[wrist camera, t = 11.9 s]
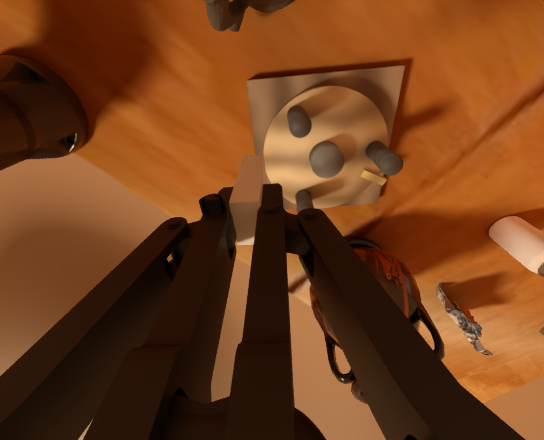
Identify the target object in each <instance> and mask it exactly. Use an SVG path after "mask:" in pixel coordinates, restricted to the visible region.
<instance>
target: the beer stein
mask: <svg viewBox="0 0 544 440" xmlns="http://www.w3.org/2000/svg"><path fill="white" fill-rule="evenodd" d="M204 1H205V2H206V5H207V12H208V17H209V21H210V23H211V25H212V26H213V28H214V29H216V30H218V31H225V30H226V29H228V28H229V29H230V30H231V31H234V32H237V31H239V29H240V26H241V23H242V20H243V16H244V12H245V10H246V8H247V7H248V6H250V7H252V8H254V9H256V10H259V11H263V12H264V11H276V10H278V9H281V8H283V7H285V6H286V5H288V4H289V3H290V2H291V1H292V0H233V1H232V2H229V0H204Z"/></svg>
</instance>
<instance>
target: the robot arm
mask: <svg viewBox="0 0 544 440" xmlns="http://www.w3.org/2000/svg"><path fill="white" fill-rule="evenodd" d="M87 134H88V125H87V119H86V116H85V113H84V110H83V108H82V106H81V104H80V102H79V100H78V99H77V97H76V96H75V94H74V93H73V91H72V90H71V89H70V88H69V87H68V86H67V84H66V83H65V82H64V81H63V80H62V79H61V78H60V77H58V76H57V75H56V74H55V73H54V72H52V71H51V70H49V69H48V68H46V67H45V66H43V65H41V64H40V63H38V62H36V61H33V60H31V59H28V58H25V57H21V56H15V55H0V170H3V169H5V168H7V167H9V166H12V165H14V164H17V163H19V162H21V161H24V160H26V159H47V158H59V157H64V156H67V155H69V154H71V153H73V152H75V151H77V150H79V149H80V148H81V147H82V146H83V144H84V143H85V141H86V138H87ZM199 204H200V207H201V210H202V214H203V215H202V218H201V220H199V221H196V222H192V223H187V220H186V219H185V218H182V217H175V218H171V219H169V220H167V221H165V222H163V223H162V224H161V225H160V226H159V227H158V228H157V229H156V230H155V231H154V232H153V233H152V234H150V235H149V236H148V237H147V238H146V239H145V240H144V241H143V242H142V243H141V244H140V245H139V246H138V247H137V248H136V249H135V250H134V251H132V252H131V254H129V255H128V256H127V257H126V258H125V259H124V260H123V261H122V262H121V263H120V264H119V265H118V266H117V267H116V268H115V269H113V271H111V272H110V273H109V274H108V275H107V276H106V277H105V278H104V279H103V280H102V281H101V282H100V283H99V284H98V285H96V286H95V287H94V288H93V289H92V290H91V291H90V292H89V293H88V294H87V295H86V296H85V297H84V298H83V299H82V300H81V301H80V302H79V303H77V304H76V305H75V306H74V307H73V308H72V309H71V310H70V311H69V312H68V313H67V314H66V315H65V316H64V317H63V318H62V319H60V320H59V321H58V322H57V323H56V324H55V325H54V326H53V327H52V328H51V329H50V330H49V331H48V332H47V333H46V334H45V335H44V336H42V338H40V339H39V340H38V341H37V342H36V343H35V344H34V345H33V346H32V347H31V348H30V349H29V350H28V351H27V352H26V353H24V354H23V355H22V356H21V358H19V359H18V360H17V361H16V362H15V363H14V364H13V365H12V366H11V367H10V368H9V369H8V370H6V371H5V372H4V373H3V374H2V375H1V376H0V440H78V439H79V437H80V436H81V435H82V433H83V432H84V431H85V429H86V428H87V426H88V425H89V424H90V422H91V421H92V420H93V421H92V423H91V425H90V427H89V429H88V431H87V433H86V435H85V437H84V439H83V440H326V439H325V437H324V436H323V434H322V433H321V432H320V430H319V429H318V428H317V427H316V425H315V424H314V423H313V422H312V421H311V420H310V419H309V418H308V417H307V416H306V415H305V414H304V413H302V412H301V411H299V410H298V409H296V408H295V407H294V392H293V391H294V390H293V372H292V354H291V334H290V315H289V296H288V277H287V257H286V252H287V253H292V254H297V255H298V256H299V259H300V262H301V264H302V266H303V268H304V270H305V272H306V274H307V276H308V278H309V281H310V283H311V285H312V287H313V289H314V291H315V293H316V295H317V297H318V300H319V302H320V304H321V306H322V308H323V310H324V312H325V314H326V316H327V319H328V321H329V323H330V325H331V327H332V329H333V331H334V333H335V335H336V338H337V340H338V342H339V344H340V346H341V348H342V350H343V352H344V354H345V356H346V359H347V361H348V363H349V365H350V367H351V369H352V371H353V373H354V376H355V378H356V380H357V382H358V384H359V386H360V388H361V390H362V392H363V395H364V397H365V399H366V401H367V403H368V405H369V407H370V409H371V411H372V413H373V416H374V417H375V419H376V421H377V423H378V425H379V427H380V429H381V431H382V433H383V435H384V437H385V438H386V440H525V439H524V438H523V437H522V436H520V435H519V434H518V433H517V432H516V431H514V430H513V429H512V428H511V427H510V426H508V425H507V424H506V423H505V422H504V421H503V420H501V419H500V418H499V417H498V416H497V415H496V414H494V413H493V412H492V411H491V410H490V409H488V408H487V407H486V406H485V405H484V404H482V403H481V402H480V401H479V400H478V399H477V398H475V397H474V396H473V395H472V394H471V393H469V392H468V391H467V390H466V389H465V388H463V387H462V386H461V385H460V384H459V383H458V382H457V380H456V379H455V378H454V376H453V375H452V374H451V373H450V371H449V370H448V369H447V368H446V366H445V365H444V364H443V363H442V361H441V360H440V359H439V357H438V356H437V355H436V354H435V352H434V351H433V350H432V349H431V347H430V346H429V345H428V344H427V342H426V341H425V340H424V338H423V337H422V336H421V335H420V333H419V332H418V331H417V330H416V328H415V327H414V326H413V325H412V323H411V322H410V321H409V319H408V318H407V317H406V316H405V314H404V313H403V312H402V311H401V309H400V308H399V307H398V306H397V304H396V303H395V302H394V300H393V299H392V298H391V297H390V295H389V294H388V293H387V292H386V290H385V289H384V288H383V287H382V285H381V284H380V283H379V281H378V280H377V279H376V278H375V276H374V275H373V274H372V273H371V271H370V270H369V269H368V268H367V266H366V265H365V264H364V262H363V261H362V260H361V259H360V257H359V256H358V255H357V254H356V252H355V251H354V250H353V249H352V247H351V246H350V245H349V243H348V242H347V241H346V240H345V238H344V237H343V236H342V235H341V233H340V232H339V231H338V230H337V228H336V227H335V226H334V224H333V223H332V222H331V221H330V219H329V218H328V217H327V216H326V214H325V213H324V212H323V211H322V210H319V209H317V208H306V209H303V210H301V211H300V212H299V213H298V214H297V215H294V214H290V213H288V212H286V211H285V210H284V206H283V191H282V186H281V185H280V184H279V183H273V184H267V178H266V169H265V159H264V155H260V156H247V157H243V160H242V163H241V166H240V169H239V172H238V175H237V179H236V182H235V185H234V187H225V188H223V189H221V190H220V191H219V192H218V194H209V195H206V196H204V197H202V198H201V199H200V200H199ZM236 239H237V244H238V245H250V244H254V245H253V254H252V262H251V271H250V279H249V288H248V296H247V304H246V313H245V322H244V329H243V338H242V341H241V343H240V344H238V347H237V350H236V355H235V362H234V370H233V377H232V385H231V392H230V396H229V397H226V398H223V399H220V400H217V401H214V402H211V380H212V375H213V370H214V365H215V359H216V354H217V349H218V344H219V339H220V334H221V329H222V323H223V318H224V313H225V308H226V303H227V298H228V292H229V288H230V282H231V277H232V272H233V267H234V261H235V257H236V252H237V251H236V245H235V242H236ZM170 254H171V257H172V260H171V261H170V262H168V261H167V257H168V256H169V255H170ZM93 418H94V419H93Z"/></svg>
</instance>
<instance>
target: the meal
mask: <svg viewBox="0 0 544 440" xmlns="http://www.w3.org/2000/svg"><path fill="white" fill-rule="evenodd" d="M442 287H443V286H442V284H441V283H440V284H439V286H438V287H437V288H438V292H437V291H436V295H437V296H438V298H440V299H441V301H442V303H443V305H444V307H445V310H446V312H447V313H448V315H450V317H451V318H452V319H453V320H454V322H455V323H456V324H457V325H458V326H459V328H460V330H461V331H462V332H464V335H465V336H466V337H467V339H468V340H469V341H471V342H470V343H471V344H472V345H473V346H474V348H475V350H476V351H477V352H481V353H482V354H486V355H493V354H492V353H491V352H489V351H488V350H485V348H484V347H483V346H482V344H481V343H480V341H479V339H478V336H480V337H482V336H481V330H482V328H481V326H480V325H478V324H477V322H475V321H474V317H473V316H471V314H470V311H469V310H467V309H466V308H463V306H458V305H457V303H456V302H455V301H454V300H453V302H454V304H451V302H450V301H449V300H448V299H447V297H446V295H445V294H444V293H443V291H442ZM454 305H455V306H454ZM446 308H447V309H448V310H447V309H446Z"/></svg>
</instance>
